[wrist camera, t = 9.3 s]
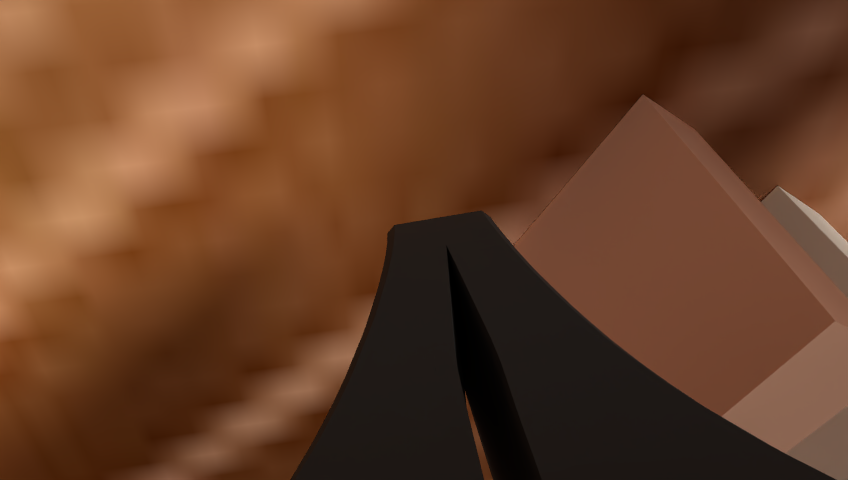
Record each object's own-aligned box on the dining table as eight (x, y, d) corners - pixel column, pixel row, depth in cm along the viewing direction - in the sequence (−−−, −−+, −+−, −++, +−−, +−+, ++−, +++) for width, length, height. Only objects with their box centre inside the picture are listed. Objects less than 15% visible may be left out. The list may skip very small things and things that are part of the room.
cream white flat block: (646, 313, 21) (787, 572, 15) (777, 185, 19) (1008, 422, 13) (688, 334, 22) (840, 590, 16) (819, 214, 20) (1058, 452, 13)
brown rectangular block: (514, 245, 19) (610, 510, 13) (642, 94, 17) (835, 321, 11) (565, 270, 20) (680, 534, 14) (694, 129, 18) (904, 362, 11)
